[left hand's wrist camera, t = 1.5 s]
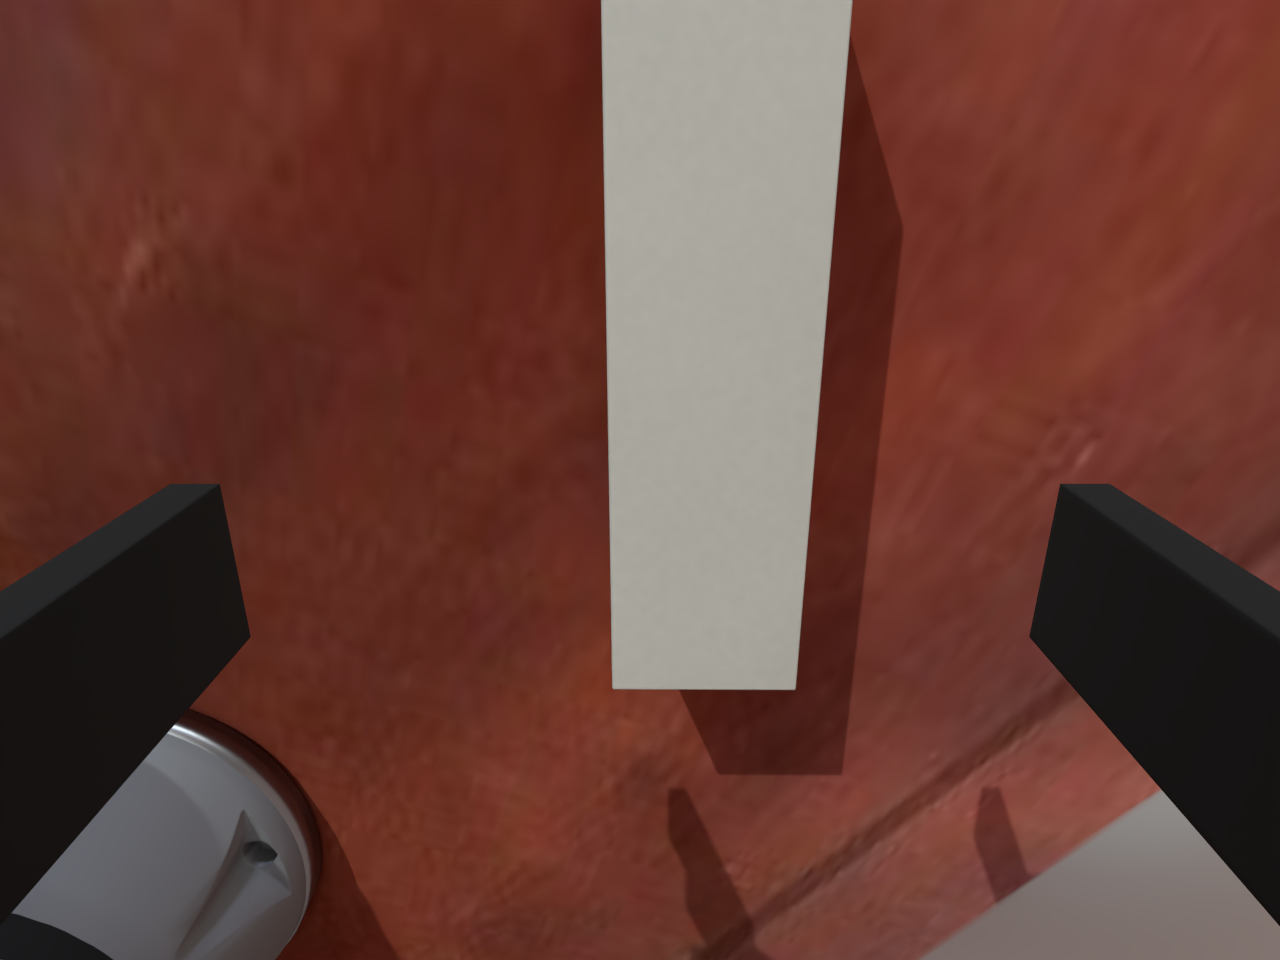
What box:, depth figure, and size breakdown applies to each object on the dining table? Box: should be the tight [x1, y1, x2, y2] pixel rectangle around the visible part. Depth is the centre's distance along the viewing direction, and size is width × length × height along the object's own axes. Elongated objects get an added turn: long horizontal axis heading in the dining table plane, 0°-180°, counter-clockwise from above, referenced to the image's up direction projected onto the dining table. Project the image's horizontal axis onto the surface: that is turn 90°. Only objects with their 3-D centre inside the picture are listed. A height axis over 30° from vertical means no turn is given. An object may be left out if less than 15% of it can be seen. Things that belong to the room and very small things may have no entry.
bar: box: [601, 0, 853, 690], centre depth 22 cm, size 22×5×8 cm, turn 0°
